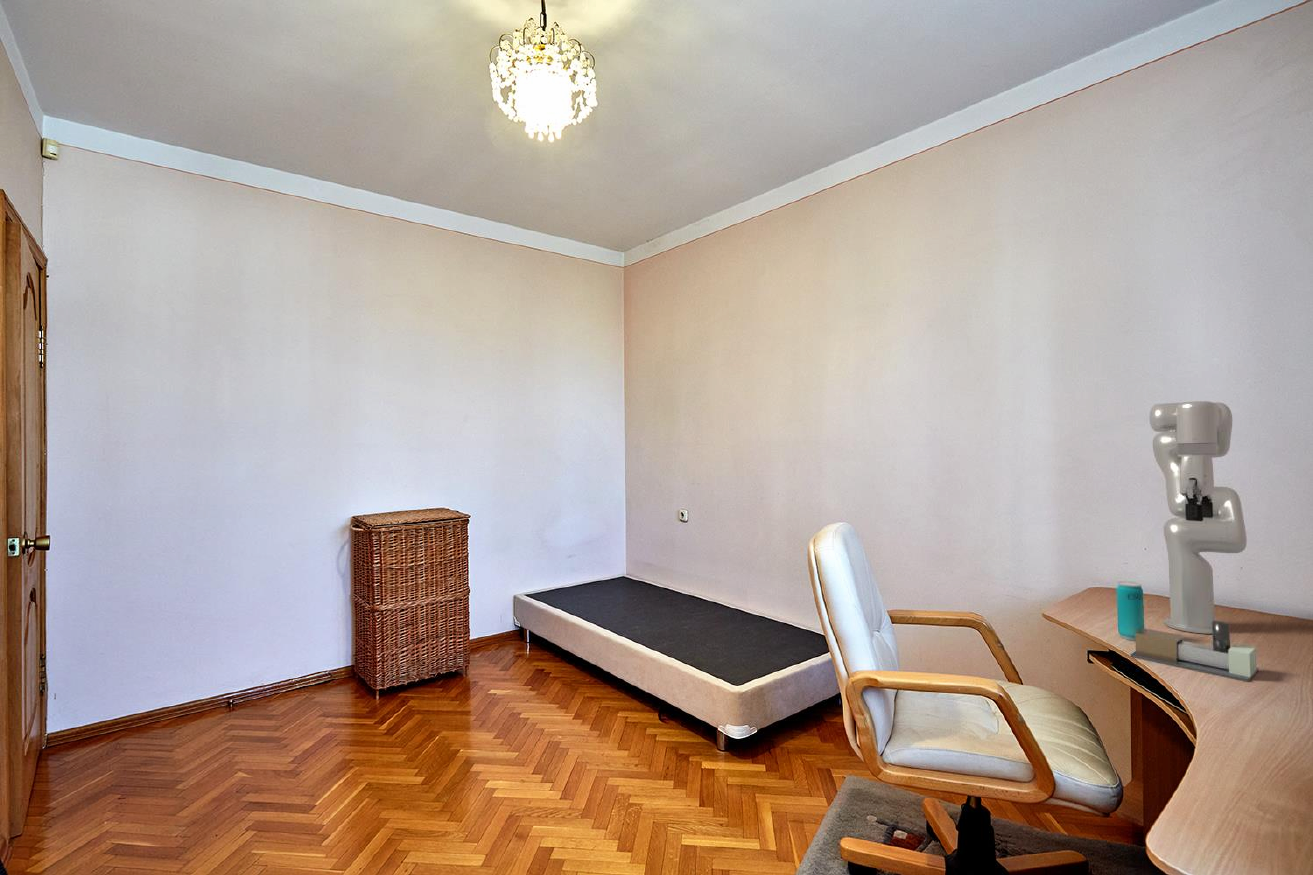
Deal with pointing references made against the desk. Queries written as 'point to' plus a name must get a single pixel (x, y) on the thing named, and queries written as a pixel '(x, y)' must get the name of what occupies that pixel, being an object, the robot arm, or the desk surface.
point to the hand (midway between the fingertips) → (1199, 519)
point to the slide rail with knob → (1172, 653)
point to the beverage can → (1130, 609)
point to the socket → (1242, 660)
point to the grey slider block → (1208, 648)
